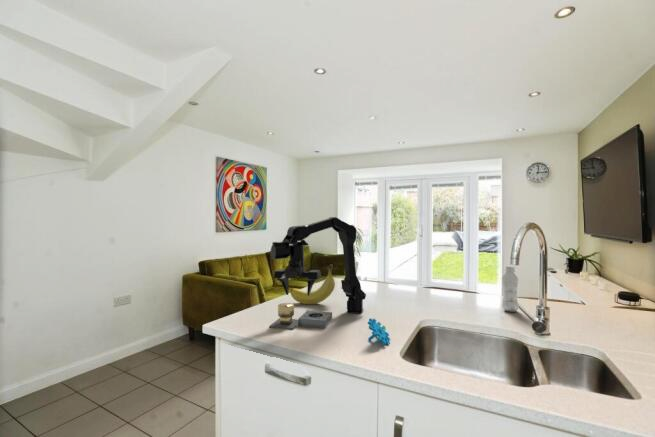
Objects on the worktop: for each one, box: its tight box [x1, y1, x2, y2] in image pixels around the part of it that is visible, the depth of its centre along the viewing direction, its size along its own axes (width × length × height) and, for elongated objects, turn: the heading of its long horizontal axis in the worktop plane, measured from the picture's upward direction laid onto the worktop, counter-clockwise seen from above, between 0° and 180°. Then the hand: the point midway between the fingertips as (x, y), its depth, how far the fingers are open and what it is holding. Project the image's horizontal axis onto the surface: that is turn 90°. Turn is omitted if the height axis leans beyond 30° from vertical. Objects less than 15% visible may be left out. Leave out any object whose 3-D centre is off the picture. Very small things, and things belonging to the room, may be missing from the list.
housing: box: [297, 310, 333, 329], centre depth 127 cm, size 11×11×3 cm
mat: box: [268, 317, 299, 331], centre depth 125 cm, size 10×10×1 cm
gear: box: [367, 318, 391, 346], centre depth 108 cm, size 11×6×10 cm
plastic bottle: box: [501, 266, 519, 313], centre depth 142 cm, size 6×7×20 cm
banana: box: [289, 263, 336, 305], centre depth 155 cm, size 23×6×20 cm, turn 81°
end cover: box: [277, 302, 295, 325], centre depth 125 cm, size 6×6×7 cm
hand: (297, 295), depth 127 cm, fingers open, 9 cm apart
